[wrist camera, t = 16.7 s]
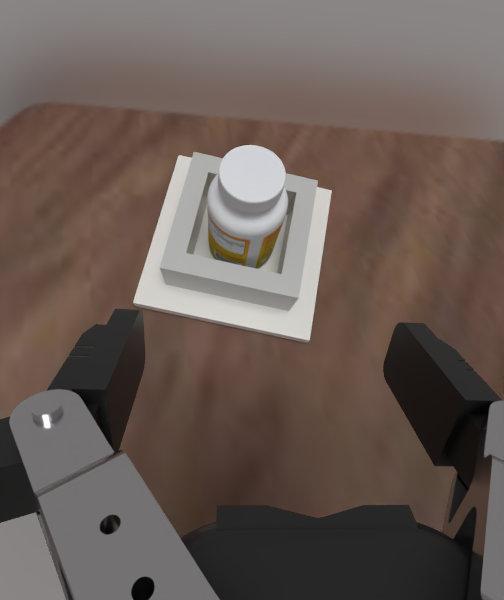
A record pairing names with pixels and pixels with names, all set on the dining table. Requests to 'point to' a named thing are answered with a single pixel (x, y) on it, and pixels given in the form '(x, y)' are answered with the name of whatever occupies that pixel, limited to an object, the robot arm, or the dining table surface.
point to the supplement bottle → (246, 206)
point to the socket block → (227, 276)
